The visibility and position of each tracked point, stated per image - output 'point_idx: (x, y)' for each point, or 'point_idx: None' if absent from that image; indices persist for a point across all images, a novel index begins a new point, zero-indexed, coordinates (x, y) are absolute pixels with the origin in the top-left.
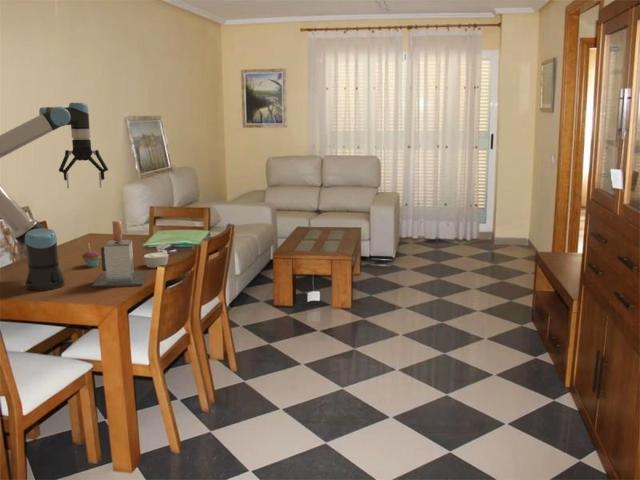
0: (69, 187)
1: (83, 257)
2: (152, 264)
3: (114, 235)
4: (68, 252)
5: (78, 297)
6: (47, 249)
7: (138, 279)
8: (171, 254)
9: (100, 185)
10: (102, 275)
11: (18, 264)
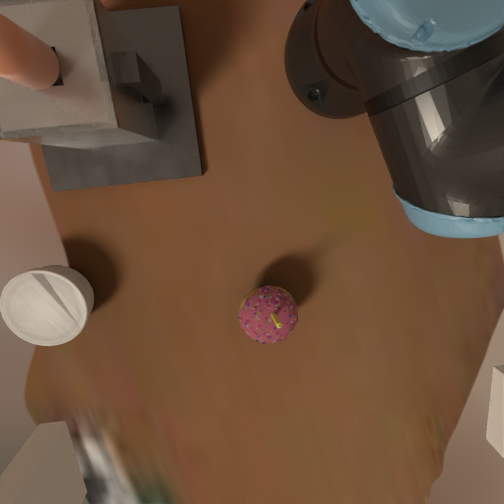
0: (496, 393)
1: (290, 295)
2: (58, 266)
3: (26, 30)
4: (376, 451)
5: None
6: None
7: None
8: None
9: (35, 449)
10: (187, 149)
11: (482, 326)
